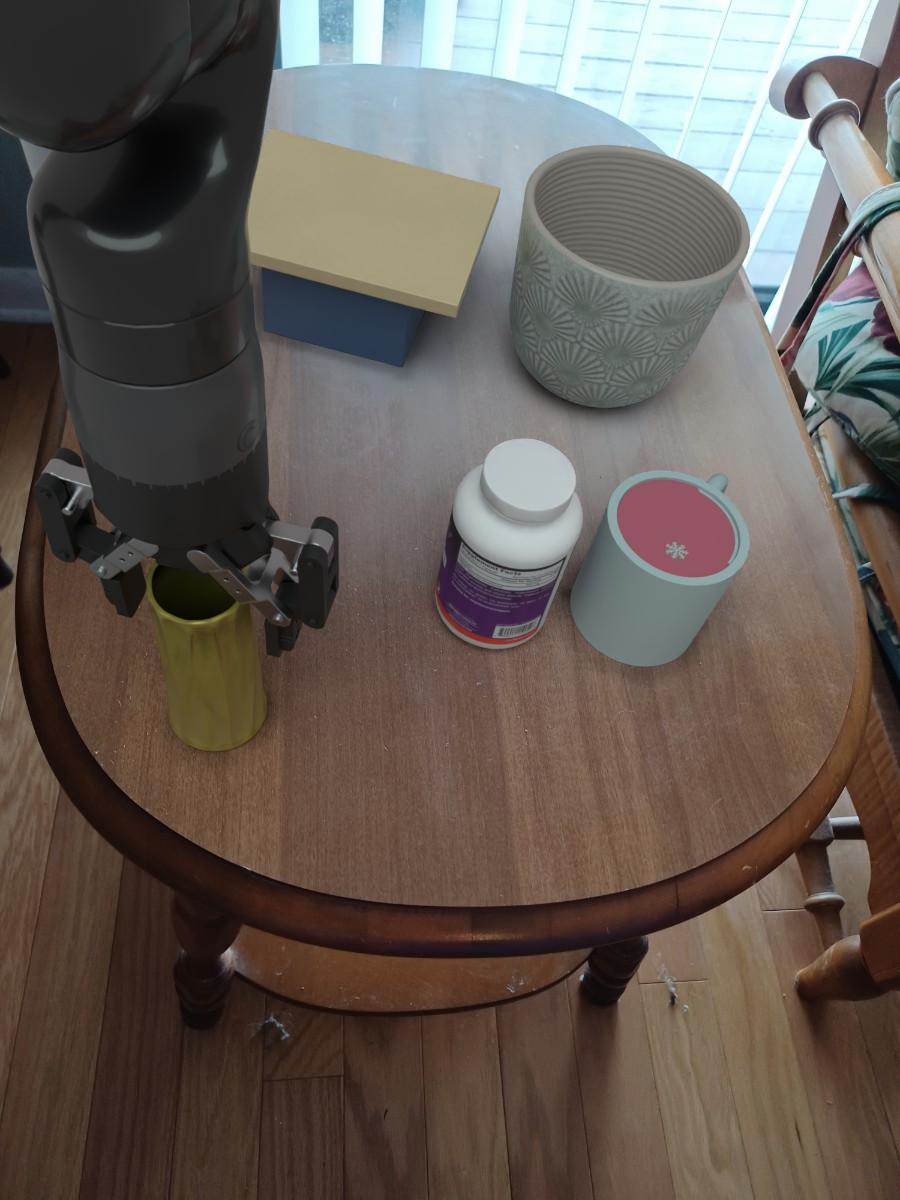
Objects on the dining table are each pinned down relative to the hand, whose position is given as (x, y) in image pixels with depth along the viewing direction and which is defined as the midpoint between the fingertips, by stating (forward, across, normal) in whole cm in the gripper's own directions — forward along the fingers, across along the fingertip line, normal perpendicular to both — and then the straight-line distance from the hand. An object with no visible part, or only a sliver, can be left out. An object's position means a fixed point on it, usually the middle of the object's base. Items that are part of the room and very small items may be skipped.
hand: (205, 623), depth 52 cm
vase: (+10, 0, 0) cm, 10 cm away
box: (+10, +3, -40) cm, 41 cm away
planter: (+10, -18, -40) cm, 45 cm away
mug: (+10, -26, -18) cm, 33 cm away
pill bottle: (+10, -15, -13) cm, 22 cm away
